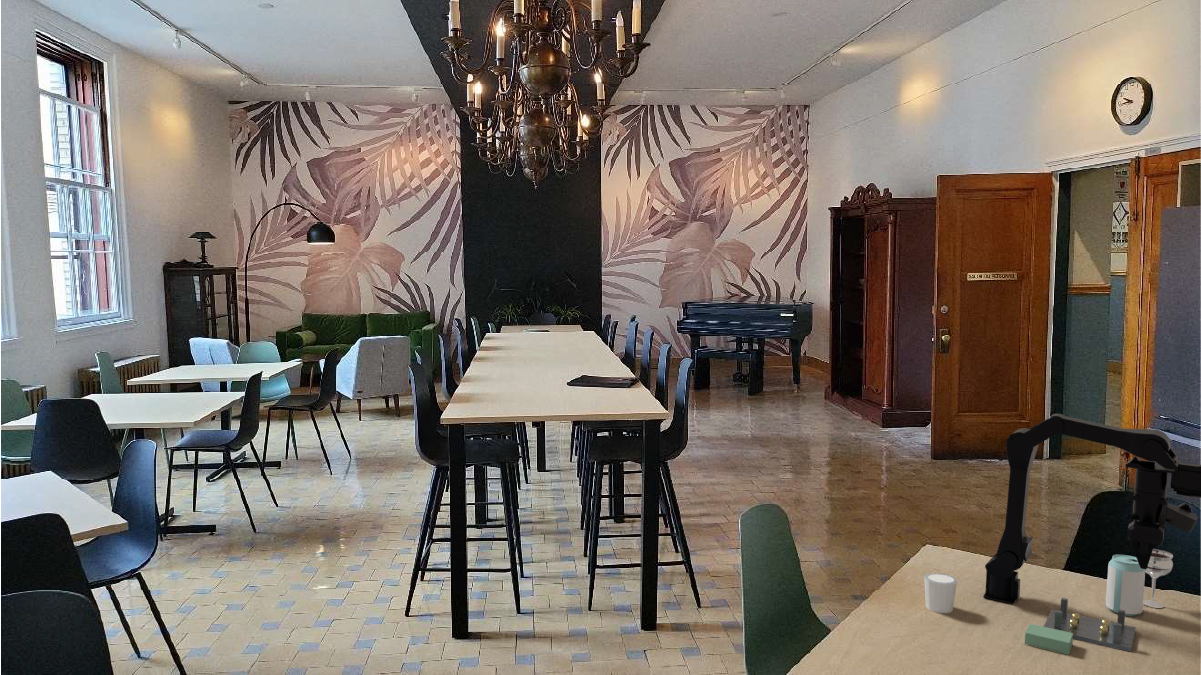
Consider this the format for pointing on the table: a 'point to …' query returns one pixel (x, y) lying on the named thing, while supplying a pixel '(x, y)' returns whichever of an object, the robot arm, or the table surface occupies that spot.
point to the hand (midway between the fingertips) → (1145, 562)
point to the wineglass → (1158, 571)
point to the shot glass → (940, 592)
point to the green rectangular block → (1049, 638)
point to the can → (1125, 585)
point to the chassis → (1092, 628)
